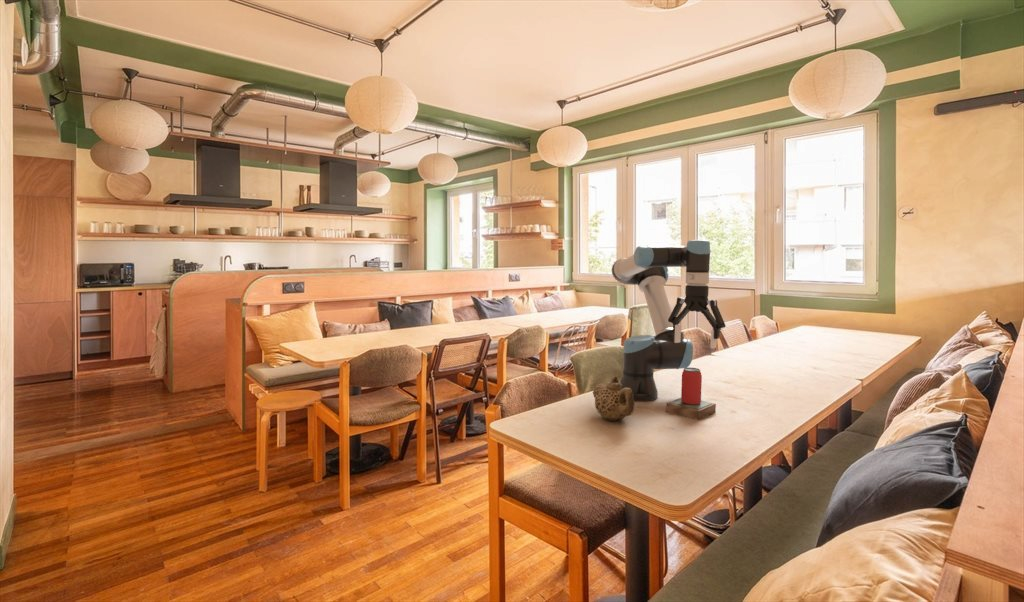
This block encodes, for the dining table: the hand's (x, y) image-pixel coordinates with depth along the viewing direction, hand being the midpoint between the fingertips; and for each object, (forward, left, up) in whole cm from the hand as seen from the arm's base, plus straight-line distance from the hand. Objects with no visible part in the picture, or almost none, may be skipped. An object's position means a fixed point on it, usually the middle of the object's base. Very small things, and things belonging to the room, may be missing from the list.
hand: (694, 345), depth 173 cm
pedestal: (0, -2, -23) cm, 23 cm away
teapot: (-13, -29, -24) cm, 40 cm away
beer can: (0, -2, -20) cm, 21 cm away
